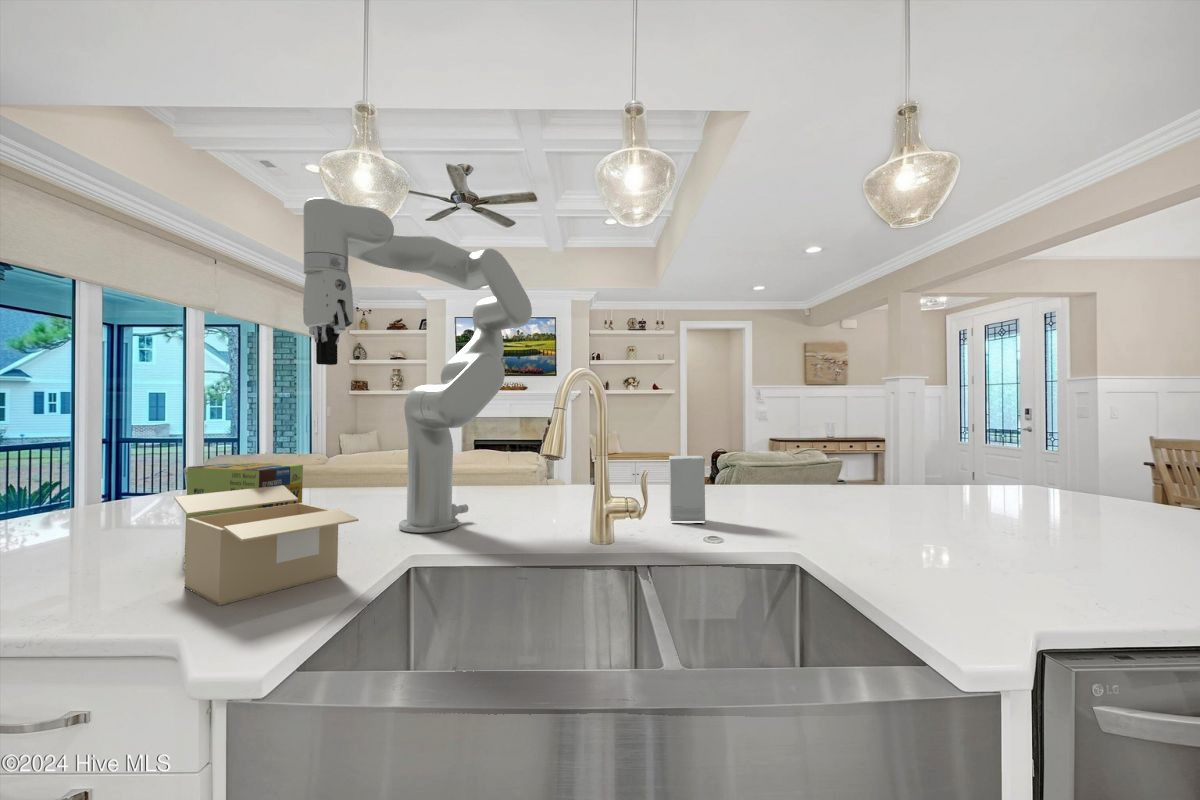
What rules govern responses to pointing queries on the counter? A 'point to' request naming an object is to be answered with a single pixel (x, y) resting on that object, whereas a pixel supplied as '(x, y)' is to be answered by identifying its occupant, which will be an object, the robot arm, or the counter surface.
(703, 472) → the skincare box
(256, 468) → the protein box
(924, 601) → the counter surface
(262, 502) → the far flap
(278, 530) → the near flap
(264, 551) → the carton
